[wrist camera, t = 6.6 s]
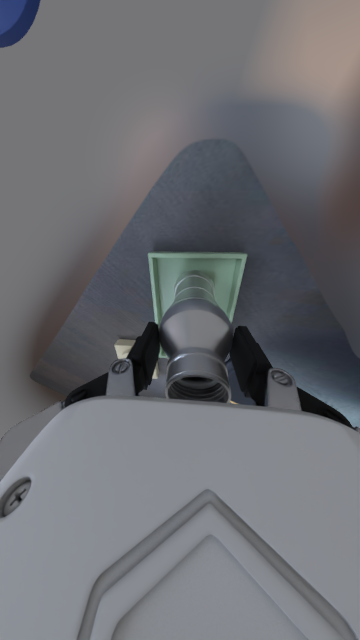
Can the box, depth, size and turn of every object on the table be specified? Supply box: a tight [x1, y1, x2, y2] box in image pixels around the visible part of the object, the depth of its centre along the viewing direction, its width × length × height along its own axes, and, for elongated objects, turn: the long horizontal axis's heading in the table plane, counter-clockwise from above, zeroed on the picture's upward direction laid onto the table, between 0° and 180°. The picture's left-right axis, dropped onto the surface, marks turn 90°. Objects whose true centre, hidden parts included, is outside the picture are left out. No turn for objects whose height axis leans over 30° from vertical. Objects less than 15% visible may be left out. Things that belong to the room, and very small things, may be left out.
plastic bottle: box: [159, 270, 233, 403], centre depth 16 cm, size 6×7×20 cm
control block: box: [114, 339, 159, 379], centre depth 34 cm, size 11×9×4 cm
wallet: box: [225, 359, 254, 406], centre depth 38 cm, size 20×2×15 cm
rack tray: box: [148, 251, 247, 358], centre depth 26 cm, size 21×14×3 cm
